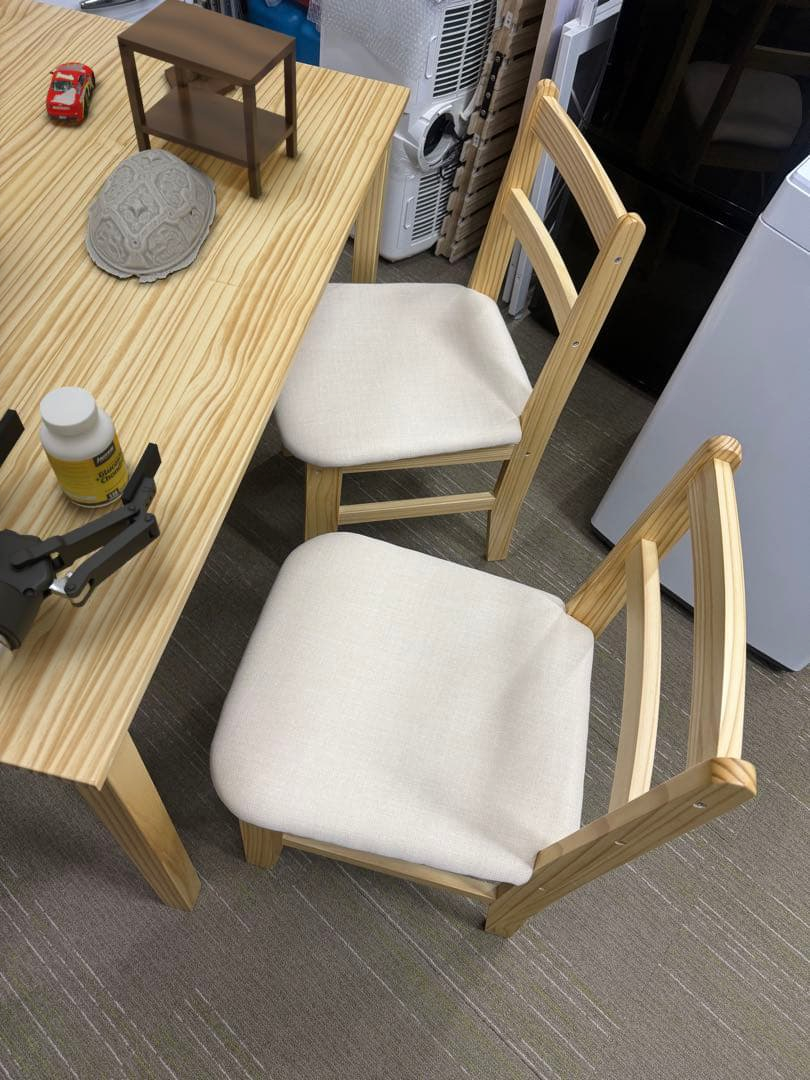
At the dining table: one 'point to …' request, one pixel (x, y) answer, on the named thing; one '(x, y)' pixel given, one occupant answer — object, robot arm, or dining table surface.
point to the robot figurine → (200, 77)
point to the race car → (70, 92)
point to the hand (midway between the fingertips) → (86, 435)
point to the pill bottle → (82, 447)
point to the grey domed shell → (150, 216)
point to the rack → (203, 114)
